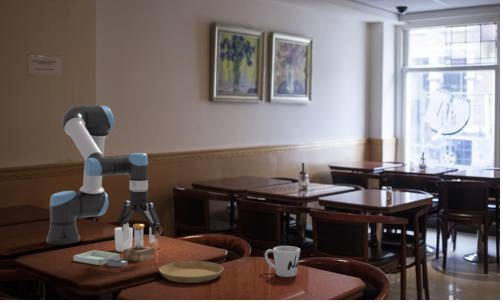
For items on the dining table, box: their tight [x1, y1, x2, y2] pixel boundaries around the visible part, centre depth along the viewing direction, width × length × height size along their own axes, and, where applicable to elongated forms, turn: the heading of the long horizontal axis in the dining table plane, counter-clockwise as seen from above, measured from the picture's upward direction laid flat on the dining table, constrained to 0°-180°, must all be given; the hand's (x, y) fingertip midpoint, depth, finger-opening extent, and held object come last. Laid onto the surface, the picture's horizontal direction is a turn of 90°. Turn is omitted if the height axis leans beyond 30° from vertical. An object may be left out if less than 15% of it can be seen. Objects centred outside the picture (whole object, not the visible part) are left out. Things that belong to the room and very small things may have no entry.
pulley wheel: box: [106, 257, 129, 268], centre depth 250 cm, size 8×8×3 cm
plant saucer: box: [158, 260, 224, 284], centre depth 235 cm, size 24×24×3 cm
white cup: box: [114, 226, 134, 252], centre depth 276 cm, size 8×8×10 cm
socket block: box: [122, 245, 155, 262], centre depth 261 cm, size 9×9×4 cm
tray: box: [73, 249, 121, 266], centre depth 257 cm, size 14×12×2 cm
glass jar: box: [132, 223, 145, 250], centre depth 260 cm, size 5×5×14 cm
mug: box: [264, 245, 301, 278], centre depth 240 cm, size 10×15×10 cm
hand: (138, 241), depth 260 cm, fingers open, 13 cm apart
